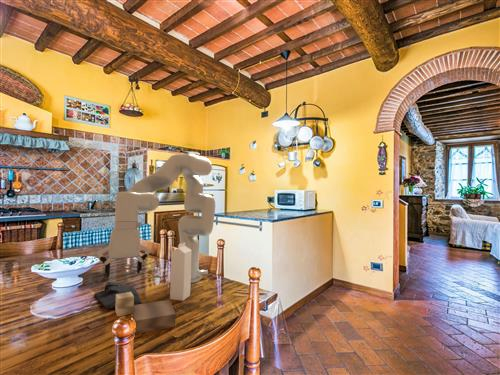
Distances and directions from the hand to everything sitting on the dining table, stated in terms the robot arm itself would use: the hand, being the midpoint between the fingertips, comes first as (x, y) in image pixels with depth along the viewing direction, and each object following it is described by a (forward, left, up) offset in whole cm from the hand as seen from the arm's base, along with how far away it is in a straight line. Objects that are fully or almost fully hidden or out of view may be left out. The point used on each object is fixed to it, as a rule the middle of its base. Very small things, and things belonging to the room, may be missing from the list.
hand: (123, 273), depth 92 cm
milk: (-21, -5, -14) cm, 26 cm away
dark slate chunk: (+1, -14, -14) cm, 20 cm away
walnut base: (-9, +12, -13) cm, 20 cm away
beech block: (-1, 0, -13) cm, 13 cm away
